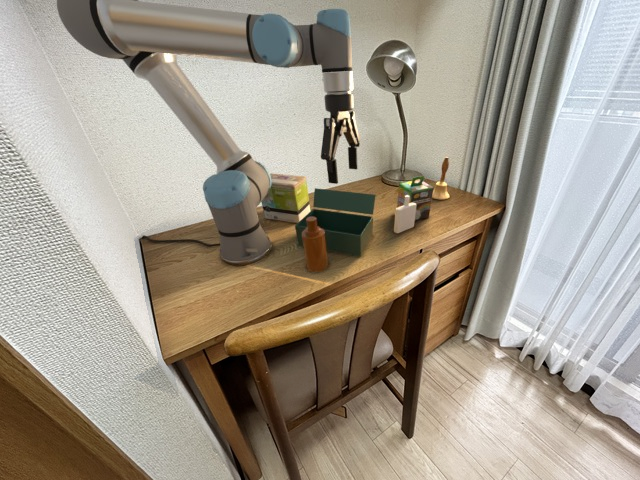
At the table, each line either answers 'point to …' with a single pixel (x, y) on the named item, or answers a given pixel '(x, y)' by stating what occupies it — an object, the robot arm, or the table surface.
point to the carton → (340, 230)
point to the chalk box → (416, 196)
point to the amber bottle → (314, 246)
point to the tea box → (287, 198)
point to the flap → (344, 201)
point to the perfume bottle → (405, 216)
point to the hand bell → (442, 183)
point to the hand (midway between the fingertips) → (343, 175)
